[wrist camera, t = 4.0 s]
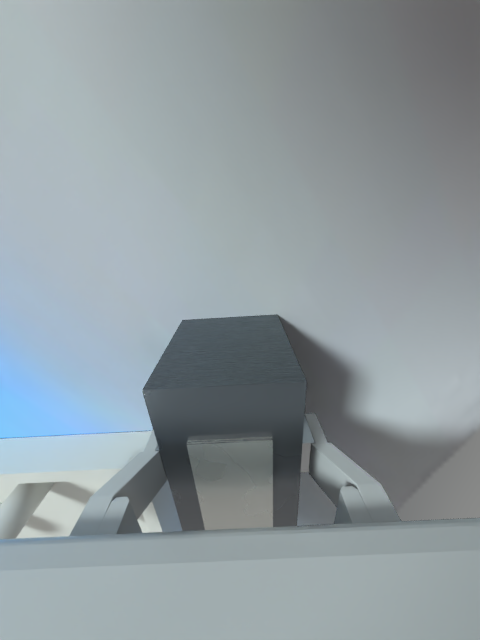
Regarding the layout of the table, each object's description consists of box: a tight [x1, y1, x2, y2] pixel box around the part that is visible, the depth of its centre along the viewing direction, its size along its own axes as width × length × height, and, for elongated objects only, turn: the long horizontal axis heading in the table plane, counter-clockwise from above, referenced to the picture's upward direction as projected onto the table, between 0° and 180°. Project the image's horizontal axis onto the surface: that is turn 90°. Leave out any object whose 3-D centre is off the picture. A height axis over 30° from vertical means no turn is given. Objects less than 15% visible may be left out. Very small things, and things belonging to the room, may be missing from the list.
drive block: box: [142, 315, 307, 531], centre depth 10 cm, size 10×4×5 cm, turn 3°
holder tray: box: [0, 431, 182, 539], centre depth 15 cm, size 18×14×4 cm
